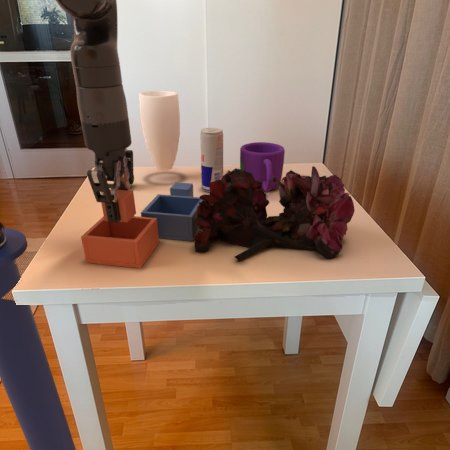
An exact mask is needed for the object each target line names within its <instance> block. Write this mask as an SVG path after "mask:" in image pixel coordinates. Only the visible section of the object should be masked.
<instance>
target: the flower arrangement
mask: <svg viewBox="0 0 450 450" xmlns="http://www.w3.org/2000/svg"><path fill="white" fill-rule="evenodd" d="M311 166H312V167H311V176H310V175H302V174H300V173H298V172H295V171H293V170H292V169H290V170H289V171H287V172H286V173H285V176H284V177H282V178H281V181H280V180H279V179H278V178H276V177H272V181H273V182H276V183H277V185H278V195H279V200H278V202H279V204H280V205H281V206H282V207H283V209H282V212H280V213H279V214H278V215H271V216H268V212H267V211H268V210H267V206H269V205H270V201H269V199H268V198H267V194H266V192H265V191H263V190H261V187H262V182H261V181H255V179H254V177H253V175H252V173H249V172H246V171H245V170H242V169H240V168H237V167H235V168H234V169H232V170H227V173H225V174H223V177H222V179H221V180H216V181H214V182H210V183H209V187H210V192H209V194H207V193H206V194H201V195H200V196H199V197H200V199H201V200H203V201H202V202H199V201H198V202H199V206H198V207H197V218H196V219H195V220H194V221H195V223H196V224H197V226H200V227H199V228H200V230H199V231H200V232H198V233H197V235H195V239H194V251H195V252H196V253H206V252H208V251H209V250H210V243H211V242H214V241H218V240H219V241H223V242H226V243H227V244H229V245H235V246H240V247H245V248H248V249H246V250H244V251H242V252H240V253H238V254H237V255H235V256H234V259H236V260H237V262H240V261H242V260H243V259H245V258H247V257H249V256H250V255H253V254H254V253H257V252H259V251H261V250H262V249H265V248H282V249H291V250H292V249H293V250H306V251H315V252H316V253H317V254H321V256H322V257H323V258H324V259H326V260H330V259H335V258H337V256H338V255H339V254H340V253H341V251H342V249H343V244H342V241H343V240H344V237H345V236H346V235H347V231H348V224H349V223H350V222H351V221H352V219H353V216H354V215H355V211H356V210H355V204H354V200H353V198H352V196H351V195H350V192H345V191H346V188H345V184H344V183H343V181H342V178H341V177H339V176H338V175H337V174H332V175H329V176H327V175H322V176H320V174H319V170H318V169H317V167H316V166H315V165H314V166H313V165H311Z"/></svg>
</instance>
